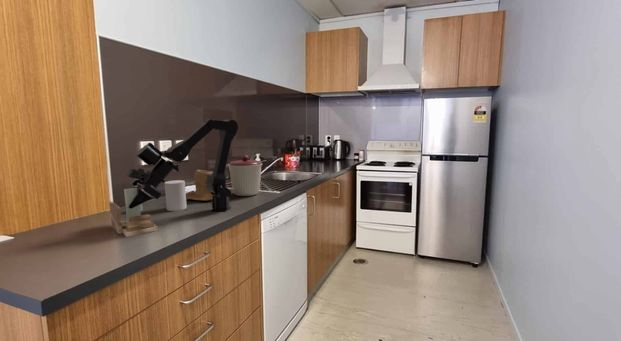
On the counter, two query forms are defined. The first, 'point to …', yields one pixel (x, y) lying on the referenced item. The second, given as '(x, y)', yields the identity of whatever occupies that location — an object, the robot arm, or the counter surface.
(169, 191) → the cup
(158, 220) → the counter surface
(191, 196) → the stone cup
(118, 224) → the rack
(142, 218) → the offcut stack
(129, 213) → the pale green upright block
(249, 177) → the canister
